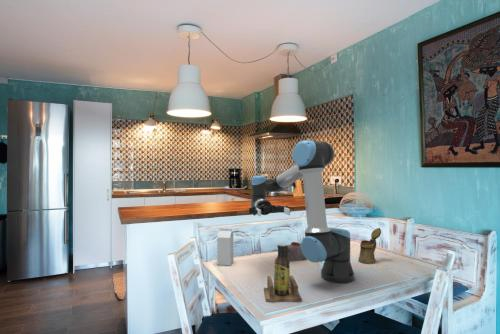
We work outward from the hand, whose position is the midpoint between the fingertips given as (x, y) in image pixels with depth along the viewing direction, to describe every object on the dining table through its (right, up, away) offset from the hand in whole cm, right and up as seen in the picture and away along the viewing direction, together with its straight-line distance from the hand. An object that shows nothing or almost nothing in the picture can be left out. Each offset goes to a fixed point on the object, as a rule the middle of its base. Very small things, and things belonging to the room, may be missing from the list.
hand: (274, 212), depth 144 cm
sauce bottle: (+2, -31, -13) cm, 34 cm away
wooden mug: (+56, -32, +34) cm, 73 cm away
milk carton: (-24, -32, +31) cm, 51 cm away
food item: (+15, -32, +38) cm, 52 cm away
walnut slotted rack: (+2, -32, -13) cm, 34 cm away
